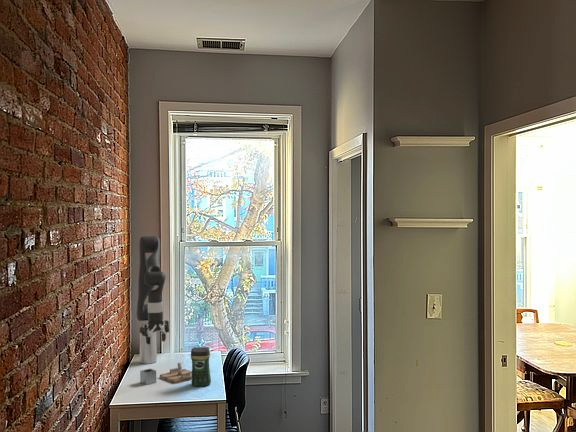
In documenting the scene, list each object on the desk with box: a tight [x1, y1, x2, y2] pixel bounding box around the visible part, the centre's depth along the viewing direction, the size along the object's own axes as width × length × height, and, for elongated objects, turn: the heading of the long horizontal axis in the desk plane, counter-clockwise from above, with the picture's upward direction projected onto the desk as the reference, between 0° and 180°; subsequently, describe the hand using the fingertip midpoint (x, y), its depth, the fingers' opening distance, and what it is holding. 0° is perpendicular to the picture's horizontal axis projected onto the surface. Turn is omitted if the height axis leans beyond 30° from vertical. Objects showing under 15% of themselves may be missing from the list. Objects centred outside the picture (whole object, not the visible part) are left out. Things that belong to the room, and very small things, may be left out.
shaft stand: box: [159, 362, 192, 385], centre depth 295 cm, size 15×15×8 cm
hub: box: [139, 368, 157, 386], centre depth 287 cm, size 6×6×6 cm
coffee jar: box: [190, 346, 212, 387], centre depth 282 cm, size 10×8×19 cm
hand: (156, 342), depth 288 cm, fingers open, 8 cm apart
